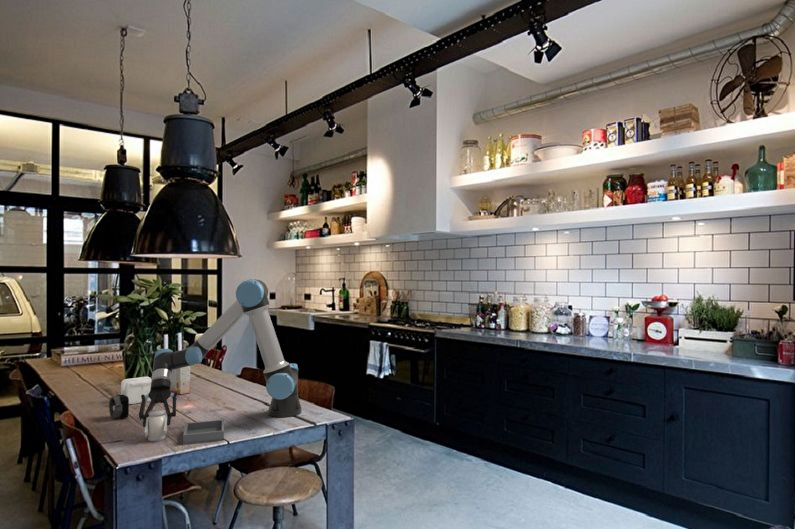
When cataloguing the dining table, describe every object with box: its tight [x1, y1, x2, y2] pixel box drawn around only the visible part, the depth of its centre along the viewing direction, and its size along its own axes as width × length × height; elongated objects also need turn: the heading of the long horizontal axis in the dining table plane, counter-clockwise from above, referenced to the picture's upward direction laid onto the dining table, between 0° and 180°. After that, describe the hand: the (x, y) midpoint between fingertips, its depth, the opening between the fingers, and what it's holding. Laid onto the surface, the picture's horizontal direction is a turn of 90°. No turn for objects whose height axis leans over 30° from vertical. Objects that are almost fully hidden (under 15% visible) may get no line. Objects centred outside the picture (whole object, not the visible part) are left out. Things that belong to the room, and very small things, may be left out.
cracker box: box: [170, 366, 191, 395], centre depth 274 cm, size 14×6×21 cm, turn 46°
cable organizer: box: [120, 376, 152, 405], centre depth 253 cm, size 15×11×12 cm
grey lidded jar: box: [147, 408, 166, 443], centre depth 193 cm, size 6×6×11 cm
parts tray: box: [182, 419, 225, 445], centre depth 197 cm, size 15×17×4 cm
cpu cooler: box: [108, 394, 130, 420], centre depth 223 cm, size 10×6×10 cm, turn 46°
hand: (155, 433), depth 190 cm, fingers closed on grey lidded jar, 6 cm apart
